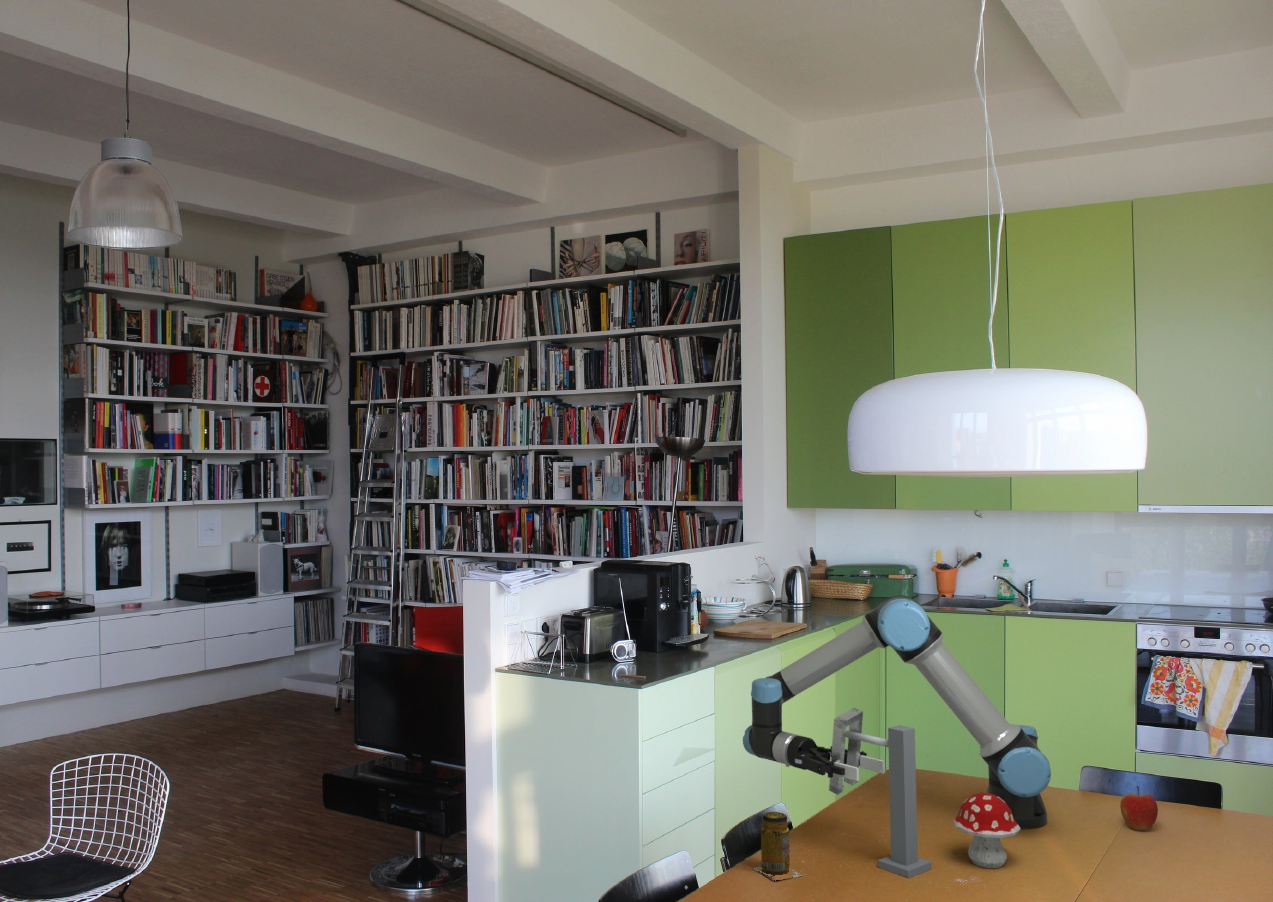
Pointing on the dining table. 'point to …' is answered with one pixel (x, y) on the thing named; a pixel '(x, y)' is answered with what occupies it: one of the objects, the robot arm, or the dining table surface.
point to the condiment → (775, 845)
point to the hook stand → (900, 801)
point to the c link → (838, 746)
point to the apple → (1139, 811)
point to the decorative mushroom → (986, 828)
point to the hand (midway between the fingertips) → (870, 770)
